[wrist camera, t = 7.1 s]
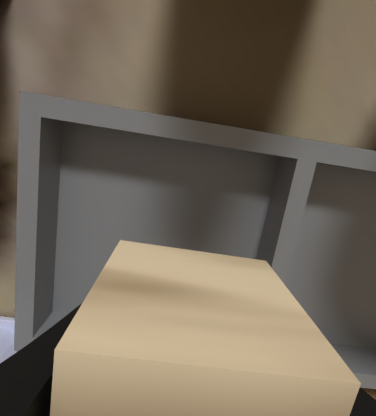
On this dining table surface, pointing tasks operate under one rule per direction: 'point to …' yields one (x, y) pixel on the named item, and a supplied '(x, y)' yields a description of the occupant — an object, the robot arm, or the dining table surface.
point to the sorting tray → (192, 211)
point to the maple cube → (195, 342)
